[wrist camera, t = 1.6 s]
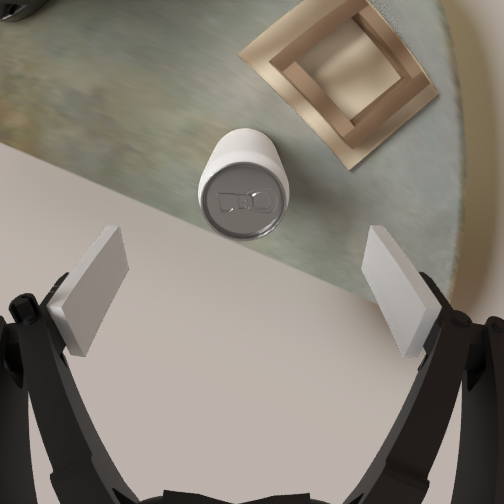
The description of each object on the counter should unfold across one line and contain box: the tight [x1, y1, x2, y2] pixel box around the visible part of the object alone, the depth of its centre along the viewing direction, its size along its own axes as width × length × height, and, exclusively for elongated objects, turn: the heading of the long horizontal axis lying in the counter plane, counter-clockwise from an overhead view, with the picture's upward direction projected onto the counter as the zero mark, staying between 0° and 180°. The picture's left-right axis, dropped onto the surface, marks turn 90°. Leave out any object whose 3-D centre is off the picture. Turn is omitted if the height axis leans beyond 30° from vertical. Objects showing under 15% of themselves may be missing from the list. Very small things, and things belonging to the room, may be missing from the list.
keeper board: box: [238, 0, 439, 170], centre depth 24 cm, size 16×14×3 cm
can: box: [198, 128, 290, 241], centre depth 25 cm, size 6×6×12 cm
